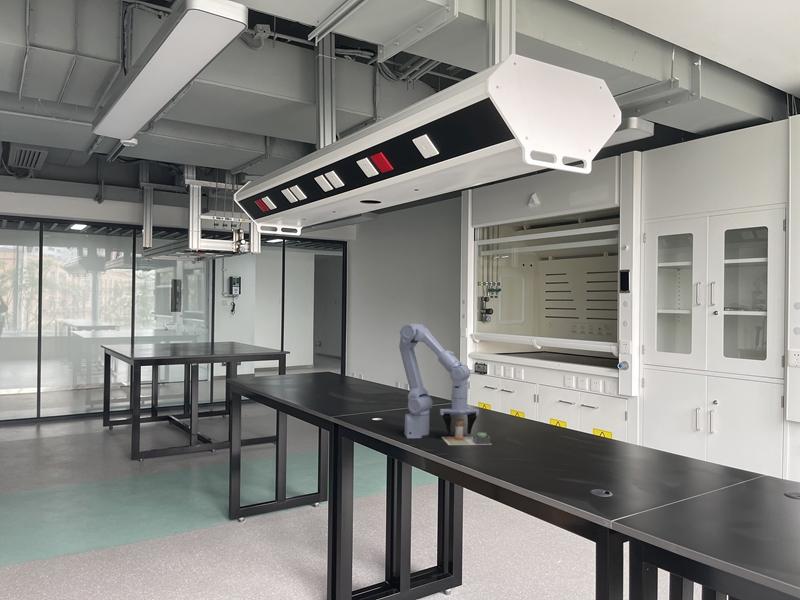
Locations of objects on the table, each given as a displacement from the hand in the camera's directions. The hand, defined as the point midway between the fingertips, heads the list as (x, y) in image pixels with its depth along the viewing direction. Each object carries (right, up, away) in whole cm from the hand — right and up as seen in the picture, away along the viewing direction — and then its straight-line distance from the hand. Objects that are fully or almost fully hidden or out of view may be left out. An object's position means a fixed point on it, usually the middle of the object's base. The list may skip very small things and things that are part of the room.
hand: (458, 434), depth 215 cm
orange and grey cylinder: (0, -2, 0) cm, 2 cm away
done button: (+8, 0, -5) cm, 9 cm away
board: (+2, -3, -2) cm, 4 cm away
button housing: (+8, -2, -5) cm, 9 cm away
